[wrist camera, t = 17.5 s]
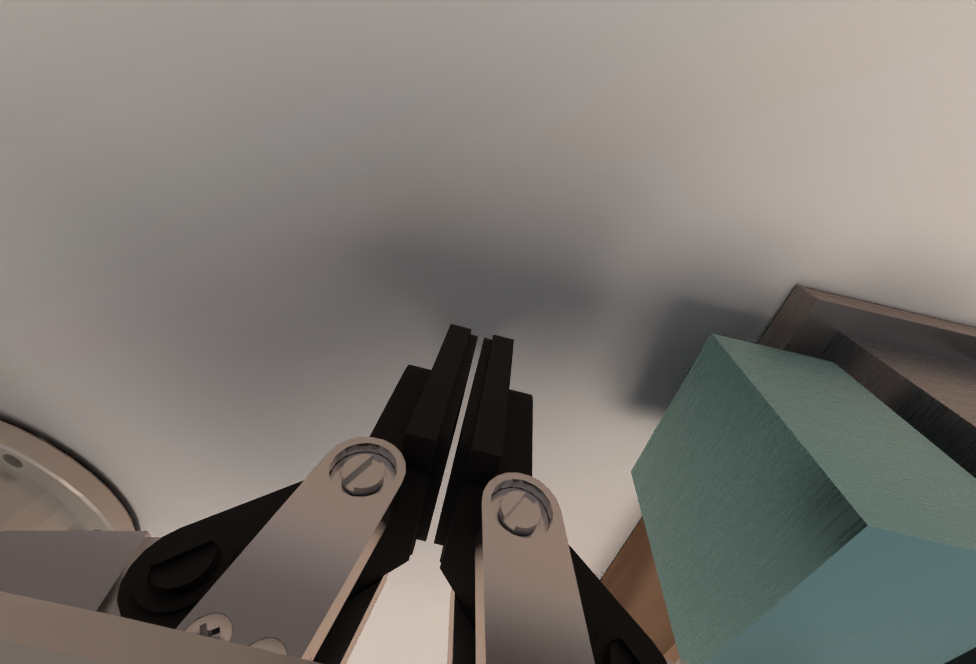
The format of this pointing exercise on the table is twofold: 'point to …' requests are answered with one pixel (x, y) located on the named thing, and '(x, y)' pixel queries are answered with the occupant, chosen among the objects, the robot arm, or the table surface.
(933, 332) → the shaft bracket
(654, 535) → the steel shaft
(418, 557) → the table surface
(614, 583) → the walnut holder
